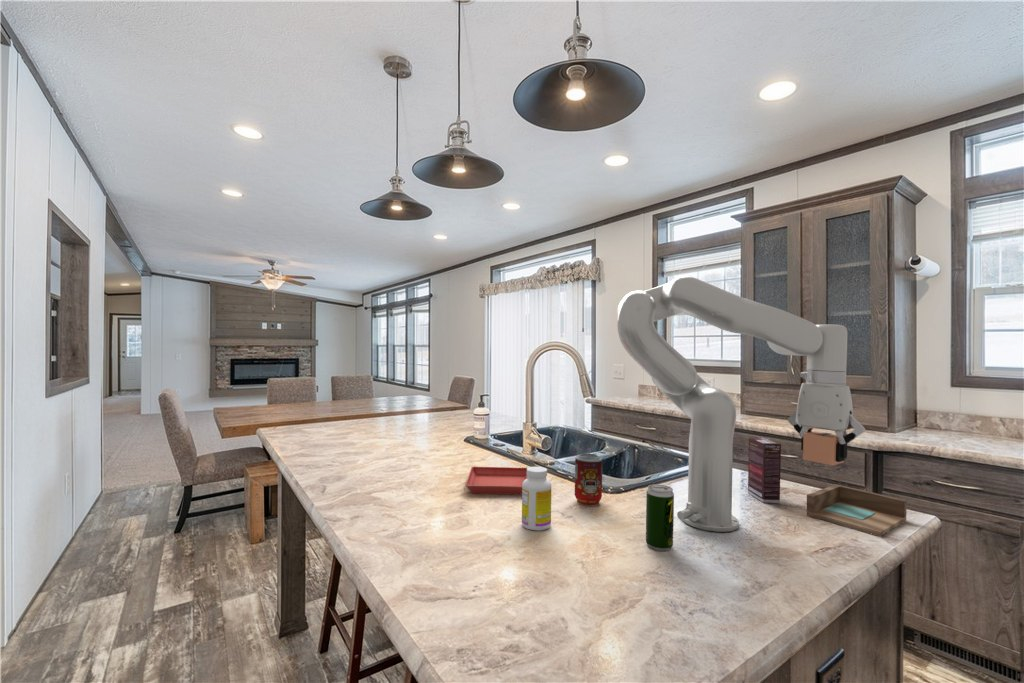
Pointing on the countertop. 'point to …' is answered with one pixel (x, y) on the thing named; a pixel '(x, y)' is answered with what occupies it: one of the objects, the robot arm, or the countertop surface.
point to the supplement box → (764, 469)
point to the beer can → (659, 517)
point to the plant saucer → (496, 480)
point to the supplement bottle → (536, 499)
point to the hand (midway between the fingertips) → (823, 456)
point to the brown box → (820, 447)
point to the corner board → (857, 509)
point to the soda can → (588, 479)
